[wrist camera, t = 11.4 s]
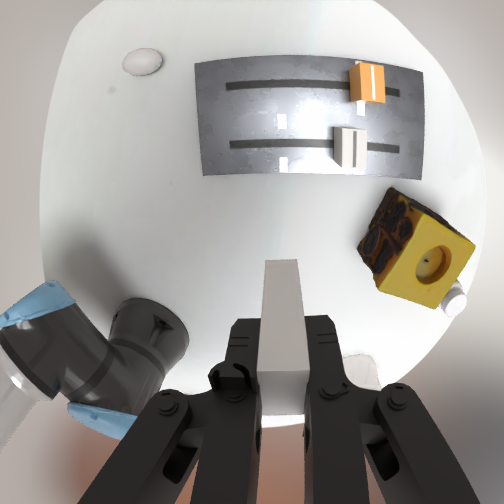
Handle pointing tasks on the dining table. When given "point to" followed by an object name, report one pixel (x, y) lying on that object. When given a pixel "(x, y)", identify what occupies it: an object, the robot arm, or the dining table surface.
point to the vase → (362, 372)
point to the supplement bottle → (454, 300)
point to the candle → (413, 251)
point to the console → (304, 116)
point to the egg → (141, 62)
